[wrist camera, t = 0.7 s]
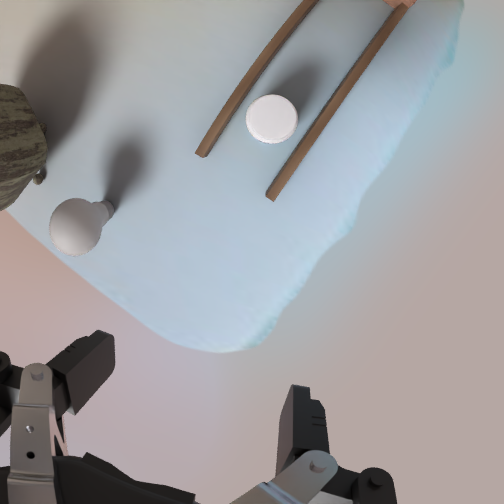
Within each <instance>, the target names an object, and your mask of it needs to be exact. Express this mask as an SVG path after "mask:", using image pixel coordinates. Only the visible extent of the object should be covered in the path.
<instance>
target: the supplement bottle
mask: <svg viewBox="0 0 504 504" xmlns="http://www.w3.org/2000/svg"><path fill="white" fill-rule="evenodd" d="M297 124H298V115H297V111H296V109H295V107H294V106H293V104H292V103H291V102H290V101H289V100H288V99H286V98H284V97H282V96H279V95H273V94H270V95H264V96H261V97H259V98H257V99H256V100H254V101H253V102H252V103H251V105H250V106H249V108H248V110H247V113H246V125H247V128H248V130H249V132H250V133H251V134H252V136H253V137H255V138H256V139H257V140H259V141H261V142H264V143H268V144H276V143H280V142H283V141H285V140H287V139H288V138H289V137H291V136H292V134H293V133H294V132H295V130H296V128H297Z"/></svg>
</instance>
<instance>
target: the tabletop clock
mask: <svg viewBox="0 0 504 504" xmlns="http://www.w3.org/2000/svg"><path fill="white" fill-rule="evenodd" d="M46 129H47V126H46V125H45V124H44V123H40V124H39V123H38V121H37V119H36V116H35V114H34V113H33V111H32V109H31V107H30V105H29V103H28V101H27V99H26V97H25V95H24V94H23V93H22V91H21V90H20V89H19V88H16V87H14V86H10V85H5V84H0V211H2V210H4V209H5V208H7V207H9V206H10V205H11V204H13V203H14V202H15V200H16V199H17V198H18V197H19V195H20V194H21V193H22V191H23V190H24V189H25V187H26V186H27V185H28V183H29V182H30V181H31V179H32V178H33V181H34V183H35V184H36V185H39V184H41V183H42V181H43V176H42V175H41V174H36V173H37V172H38V171H39V170H40V168H41V167H42V166H43V165H44V164H45V162H46V156H47V149H48V148H47V142H46V139H45V136H44V133H45V131H46Z"/></svg>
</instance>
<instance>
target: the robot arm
mask: <svg viewBox="0 0 504 504" xmlns="http://www.w3.org/2000/svg"><path fill="white" fill-rule="evenodd" d="M114 367H115V345H114V336H113V335H111V334H109V333H106V332H103V331H101V330H97V331H95V332H94V333H93V334H92V335H90V336H89V337H88V336H85V337H82V338H79V339H76V340H75V341H74V342H73V343H72V344H70V346H68V347H66V348H65V350H63V351H61V352H60V353H59V354H58V355H56V356H55V357H54V358H53V359H52V360H50V361H49V362H48V363H47V364H45V365H44V364H41V363H33V364H30V365H28V366H26V367H25V368H21V367H18V366H15V365H11V362H10V358H9V356H8V355H7V354H6V353H4V352H1V351H0V437H1V435H2V434H3V433H4V432H5V431H6V430H7V429H8V428H9V426H10V425H11V441H10V466H6V467H0V504H199V503H198V502H195V494H193V493H189V492H186V491H182V490H179V489H176V488H173V487H169V486H166V485H159V484H152V483H146V482H140V481H135V480H133V479H132V478H130V477H129V476H127V475H126V474H124V473H123V472H121V471H120V470H119V469H117V468H116V467H115V466H113V465H112V464H110V463H108V462H106V461H104V460H102V459H100V458H97V457H96V456H94V455H91V454H90V453H88V452H86V454H85V455H84V456H83V458H81V457H76V456H69V455H68V450H67V444H66V435H65V426H64V417H63V414H64V413H65V412H66V411H67V412H69V413H71V414H73V415H76V414H77V413H78V412H79V410H80V409H81V408H82V407H83V406H84V405H85V404H86V402H87V401H88V400H89V398H91V397H92V396H93V394H94V393H95V392H96V391H97V390H98V388H100V386H101V385H102V384H103V383H104V382H105V381H106V380H107V379H108V377H109V376H110V375H111V374H112V372H113V370H114ZM325 418H326V416H325V409H324V407H323V406H322V404H321V403H320V401H319V400H312V399H310V388H309V387H304V386H299V385H291V387H290V390H289V393H288V396H287V398H286V401H285V404H284V406H283V409H282V412H281V416H280V422H279V437H278V451H277V463H276V475H275V478H273V479H272V480H271V481H269V482H268V483H265V482H262V483H260V484H258V485H257V486H255V487H254V488H253V489H251V490H250V491H248V492H247V493H245V494H244V495H242V496H241V497H239V498H237V499H236V500H234V501H233V502H232V503H230V504H397V500H396V494H395V488H394V482H393V479H392V477H391V476H390V474H389V473H388V472H386V471H385V470H383V469H380V468H375V467H374V468H367V469H365V470H363V471H362V472H361V473H357V472H353V471H350V470H346V469H344V468H342V467H340V466H338V464H337V462H336V460H335V458H334V457H333V456H331V455H330V451H329V442H328V433H327V427H326V420H325Z"/></svg>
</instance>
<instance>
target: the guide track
mask: <svg viewBox="0 0 504 504" xmlns="http://www.w3.org/2000/svg"><path fill="white" fill-rule="evenodd" d="M318 1H319V0H303V1H302V3H301V4H300V5H299V6H298V7H297V8H296V10H295V11H294V12H293V13H292V14H291V16H290V17H289V18H288V19H287V21H286V22H285V23H284V24H283V25H282V27H281V28H280V29H279V30H278V32H277V33H276V34H275V36H274V37H273V38H272V39H271V41H270V42H269V43H268V45H267V46H266V47H265V49H264V50H263V51H262V53H261V54H260V55H259V57H258V58H257V59H256V61H255V62H254V63H253V65H252V66H251V68H250V69H249V70H248V72H247V73H246V75H245V76H244V77H243V79H242V80H241V82H240V83H239V85H238V86H237V87H236V89H235V90H234V92H233V93H232V95H231V96H230V98H229V99H228V101H227V102H226V104H225V105H224V107H223V108H222V110H221V111H220V113H219V115H218V116H217V118H216V119H215V121H214V122H213V124H212V126H211V127H210V129H209V130H208V132H207V134H206V135H205V137H204V138H203V140H202V142H201V143H200V145H199V147H198V148H197V150H196V152H195V154H197V155H199V156H200V157H202V158H204V157H207V156H208V154H209V152H210V151H211V149H212V147H213V146H214V144H215V143H216V141H217V139H218V138H219V136H220V135H221V133H222V132H223V130H224V128H225V127H226V125H227V124H228V122H229V121H230V119H231V118H232V116H233V115H234V113H235V112H236V110H237V109H238V107H239V106H240V104H241V103H242V101H243V100H244V98H245V97H246V95H247V94H248V92H249V91H250V89H251V88H252V87H253V85H254V84H255V82H256V81H257V79H258V78H259V77H260V75H261V74H262V72H263V71H264V70H265V68H266V67H267V65H268V64H269V63H270V61H271V60H272V59H273V57H274V56H275V55H276V53H277V52H278V51H279V49H280V48H281V47H282V45H283V44H284V43H285V42H286V40H287V39H288V38H289V36H290V35H291V34H292V33H293V31H294V30H295V29H296V28H297V26H298V25H299V24H300V23H301V21H302V20H303V19H304V18H305V16H306V15H307V14H308V13H309V12H310V10H311V9H312V8H313V7H314V6H315V4H316V3H317V2H318ZM383 1H384V2H386V3H387V4H389V5H390V6H391V7H393V8H394V11H393V12H392V13H391V15H390V16H389V17H388V19H387V20H386V21H385V23H384V24H383V25H382V27H381V28H380V30H379V31H378V32H377V34H376V35H375V36H374V38H373V39H372V40H371V42H370V43H369V45H368V46H367V47H366V49H365V50H364V51H363V53H362V54H361V56H360V57H359V58H358V60H357V61H356V63H355V64H354V65H353V67H352V68H351V70H350V71H349V72H348V74H347V75H346V77H345V78H344V79H343V81H342V82H341V84H340V85H339V86H338V88H337V89H336V91H335V92H334V93H333V95H332V96H331V98H330V99H329V101H328V102H327V103H326V105H325V106H324V108H323V109H322V111H321V112H320V113H319V115H318V116H317V118H316V119H315V121H314V122H313V124H312V125H311V126H310V128H309V129H308V131H307V132H306V134H305V135H304V137H303V138H302V139H301V141H300V142H299V144H298V145H297V147H296V148H295V150H294V151H293V153H292V154H291V156H290V157H289V158H288V160H287V161H286V163H285V164H284V166H283V167H282V169H281V170H280V172H279V173H278V175H277V176H276V178H275V179H274V181H273V182H272V184H271V185H270V187H269V188H268V190H267V191H266V197H267V198H269V199H270V200H272V201H273V202H274V200H275V199H276V197H277V196H278V195H279V193H280V192H281V190H282V189H283V187H284V186H285V184H286V183H287V181H288V180H289V178H290V177H291V176H292V174H293V173H294V171H295V170H296V168H297V167H298V165H299V164H300V162H301V161H302V159H303V158H304V157H305V155H306V154H307V152H308V151H309V149H310V148H311V146H312V145H313V143H314V142H315V141H316V139H317V138H318V136H319V135H320V133H321V132H322V130H323V129H324V128H325V126H326V125H327V123H328V122H329V120H330V119H331V117H332V116H333V115H334V113H335V112H336V110H337V109H338V107H339V106H340V105H341V103H342V102H343V100H344V99H345V97H346V96H347V94H348V93H349V92H350V90H351V89H352V87H353V86H354V84H355V83H356V82H357V80H358V79H359V77H360V76H361V75H362V73H363V72H364V70H365V69H366V67H367V66H368V65H369V63H370V62H371V60H372V59H373V57H374V56H375V55H376V53H377V52H378V50H379V49H380V48H381V46H382V45H383V43H384V42H385V41H386V39H387V38H388V36H389V35H390V34H391V32H392V31H393V29H394V28H395V27H396V25H397V24H398V22H399V21H400V20H401V18H402V17H403V15H404V14H405V13H406V11H407V10H408V8H409V7H411V6H412V5H413V4H414V3H415V2H416V0H383Z"/></svg>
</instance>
